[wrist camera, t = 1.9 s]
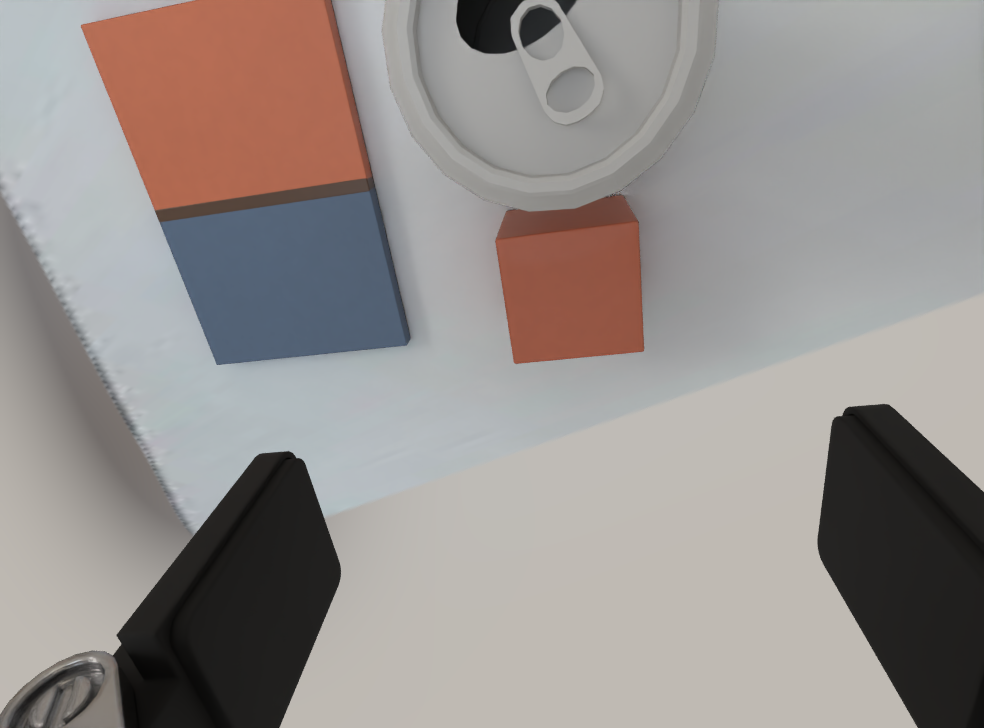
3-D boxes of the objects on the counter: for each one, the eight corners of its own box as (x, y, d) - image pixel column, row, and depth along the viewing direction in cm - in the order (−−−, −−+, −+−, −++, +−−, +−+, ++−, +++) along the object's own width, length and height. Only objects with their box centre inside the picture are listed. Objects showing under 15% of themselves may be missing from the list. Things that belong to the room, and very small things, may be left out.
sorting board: (326, -23, 22) (318, -27, 21) (410, 339, 28) (406, 345, 27) (94, 26, 23) (79, 24, 22) (224, 358, 29) (216, 365, 29)
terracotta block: (623, 194, 24) (638, 220, 20) (629, 306, 26) (644, 352, 22) (505, 210, 25) (494, 239, 20) (520, 317, 27) (513, 364, 22)
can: (591, -113, 20) (635, -343, 9) (681, 93, 22) (801, 105, 11) (415, 23, 22) (283, -31, 11) (515, 195, 24) (485, 285, 14)
